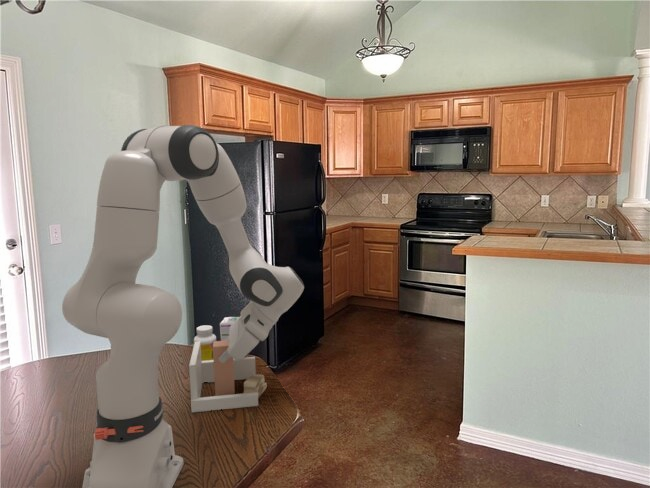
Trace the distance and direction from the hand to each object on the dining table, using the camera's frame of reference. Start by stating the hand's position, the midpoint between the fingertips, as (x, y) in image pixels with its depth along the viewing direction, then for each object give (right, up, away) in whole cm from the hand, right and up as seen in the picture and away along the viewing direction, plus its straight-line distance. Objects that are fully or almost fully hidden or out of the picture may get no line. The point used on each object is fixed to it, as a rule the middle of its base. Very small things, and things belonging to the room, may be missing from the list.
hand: (221, 356), depth 125 cm
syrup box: (0, -7, +20) cm, 21 cm away
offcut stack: (+9, -10, +1) cm, 14 cm away
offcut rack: (+1, -10, +2) cm, 10 cm away
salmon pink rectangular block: (+1, -10, +2) cm, 10 cm away
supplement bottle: (-8, -8, +17) cm, 21 cm away
